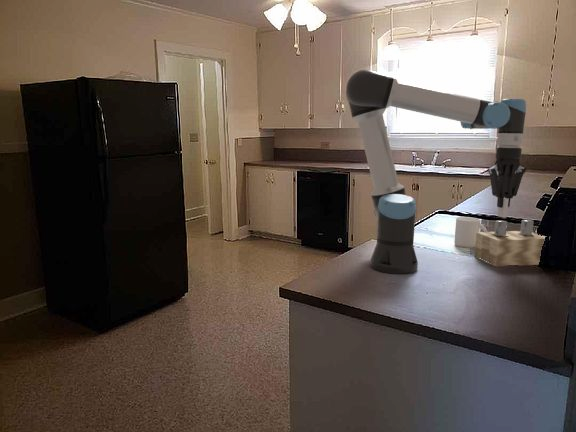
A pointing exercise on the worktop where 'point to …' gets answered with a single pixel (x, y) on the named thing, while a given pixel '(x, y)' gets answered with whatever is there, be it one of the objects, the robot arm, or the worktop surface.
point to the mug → (467, 231)
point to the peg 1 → (500, 228)
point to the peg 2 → (526, 228)
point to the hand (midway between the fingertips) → (502, 216)
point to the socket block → (509, 248)
